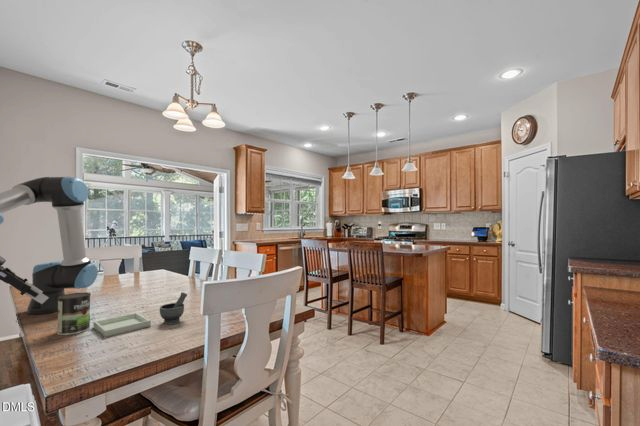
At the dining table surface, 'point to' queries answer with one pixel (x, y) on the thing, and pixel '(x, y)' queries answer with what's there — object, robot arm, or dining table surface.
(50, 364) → the dining table surface
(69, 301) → the coffee can
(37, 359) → the dining table surface
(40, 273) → the robot arm
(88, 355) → the dining table surface
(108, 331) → the tray
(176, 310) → the mortar and pestle
